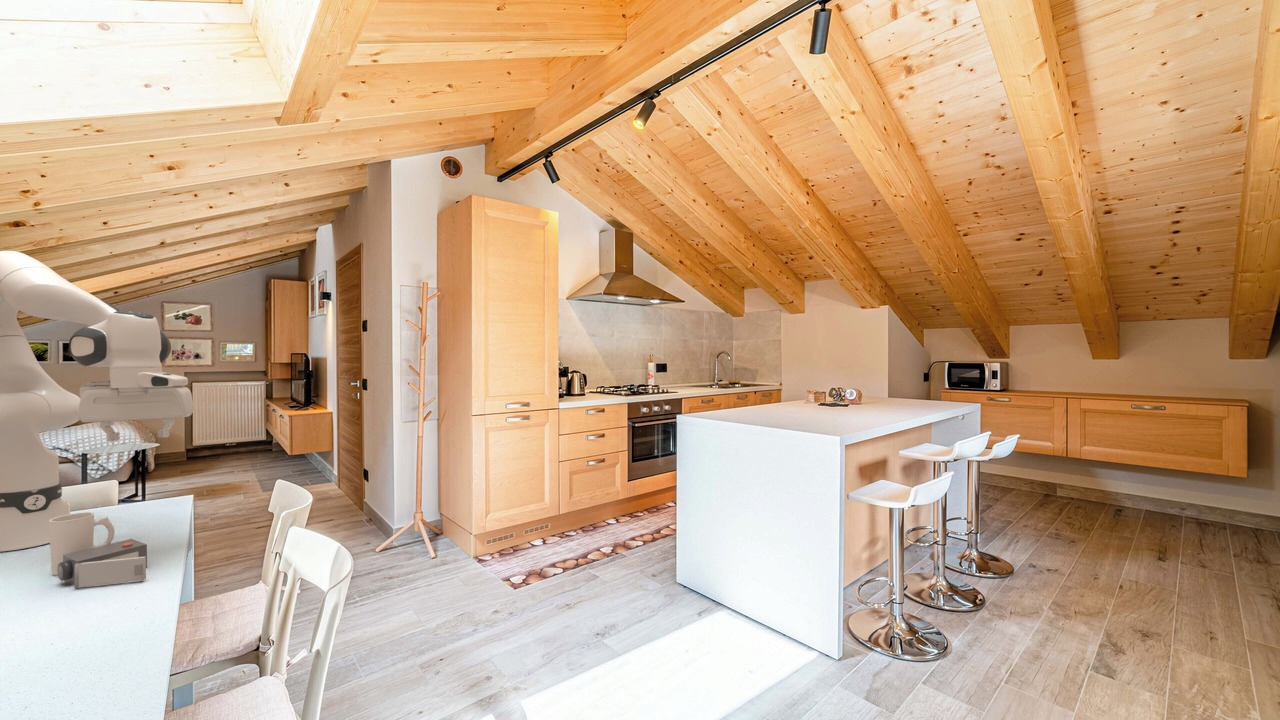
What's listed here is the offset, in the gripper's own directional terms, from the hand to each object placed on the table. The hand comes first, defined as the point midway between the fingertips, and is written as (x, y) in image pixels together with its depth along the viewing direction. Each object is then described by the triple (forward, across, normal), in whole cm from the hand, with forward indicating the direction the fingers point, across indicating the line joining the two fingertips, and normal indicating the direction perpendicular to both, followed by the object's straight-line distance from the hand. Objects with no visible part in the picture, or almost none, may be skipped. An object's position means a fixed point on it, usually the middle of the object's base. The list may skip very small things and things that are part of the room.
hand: (138, 439), depth 121 cm
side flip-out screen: (+28, +1, -14) cm, 32 cm away
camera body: (+29, -3, -7) cm, 30 cm away
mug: (+29, -10, -1) cm, 30 cm away
